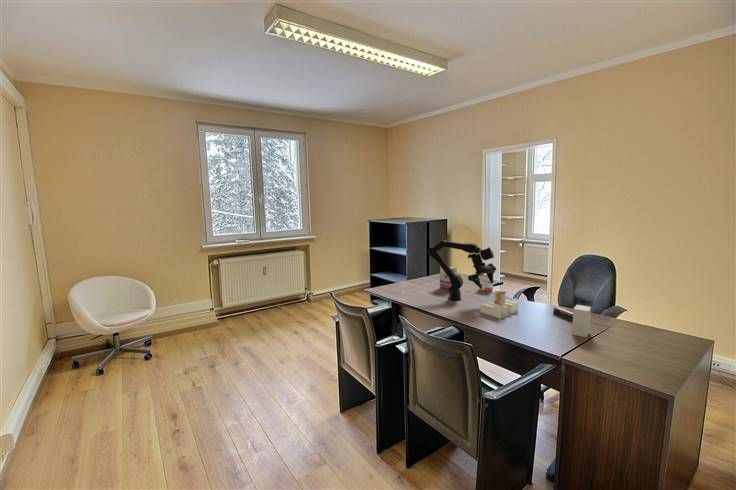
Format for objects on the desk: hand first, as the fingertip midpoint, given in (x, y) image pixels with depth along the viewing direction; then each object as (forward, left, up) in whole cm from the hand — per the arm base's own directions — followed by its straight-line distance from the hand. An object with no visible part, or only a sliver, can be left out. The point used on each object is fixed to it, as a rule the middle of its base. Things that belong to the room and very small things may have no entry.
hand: (487, 286), depth 217 cm
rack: (-4, -17, -11) cm, 21 cm away
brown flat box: (+26, -34, -12) cm, 45 cm away
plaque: (-4, -17, -10) cm, 20 cm away
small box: (+14, -55, -11) cm, 58 cm away
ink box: (+17, +26, -11) cm, 33 cm away
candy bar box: (-7, +37, -11) cm, 39 cm away
